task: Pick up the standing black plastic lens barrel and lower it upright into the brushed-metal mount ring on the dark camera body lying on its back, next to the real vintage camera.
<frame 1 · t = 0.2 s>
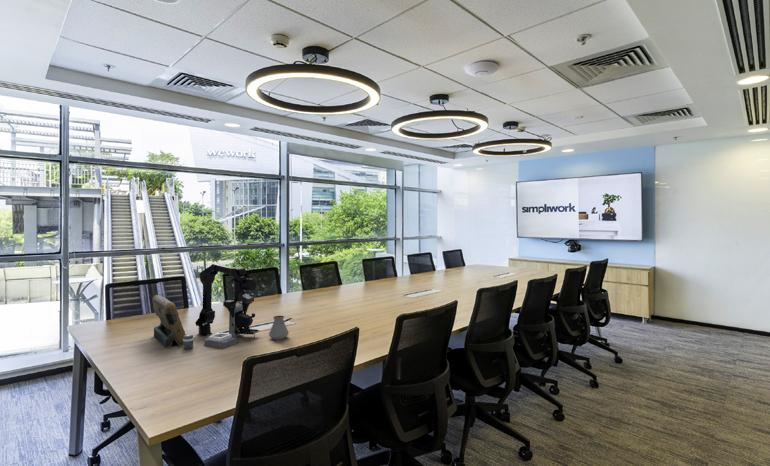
hand: (239, 315, 231), 14 cm above the table, fingers open, 9 cm apart
lens: (188, 348, 216), on the table
camera body: (220, 344, 224), on the table
vintage camera: (244, 337, 238), on the table
coffee pot: (282, 340, 233), on the table
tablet: (169, 340, 232), on the table
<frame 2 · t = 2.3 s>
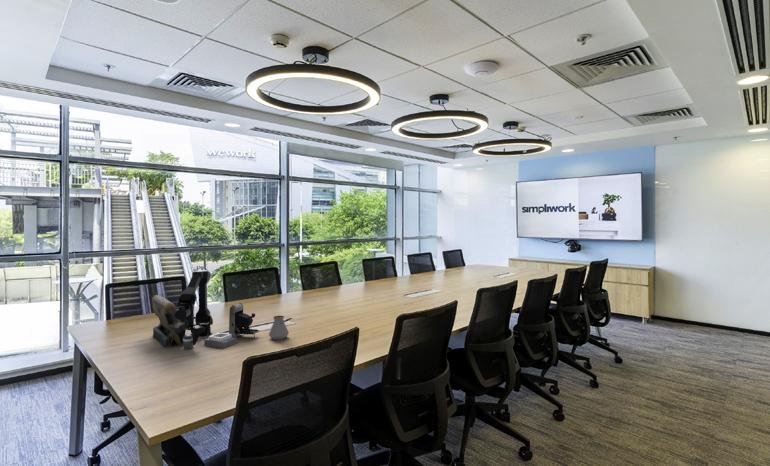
hand: (188, 343, 216), 3 cm above the table, fingers open, 9 cm apart
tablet: (169, 340, 231), on the table, touching gripper
everything else where it was.
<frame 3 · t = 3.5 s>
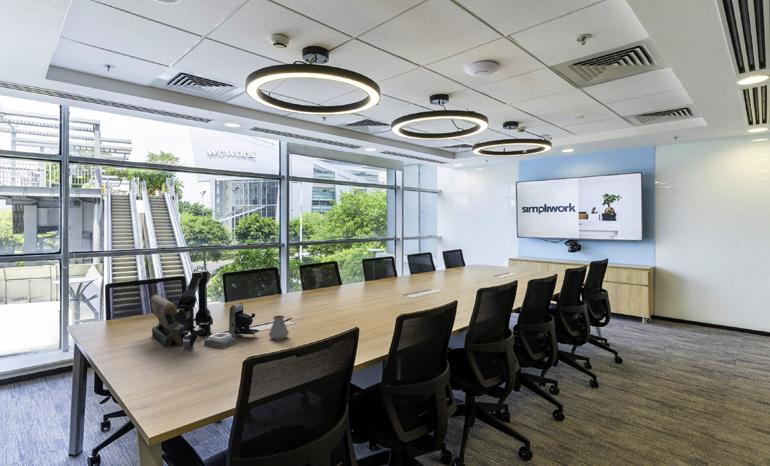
hand: (188, 346, 216), 1 cm above the table, fingers closed on lens, 5 cm apart
lens: (188, 348, 216), on the table, touching gripper
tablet: (168, 340, 231), on the table
everything else where it was.
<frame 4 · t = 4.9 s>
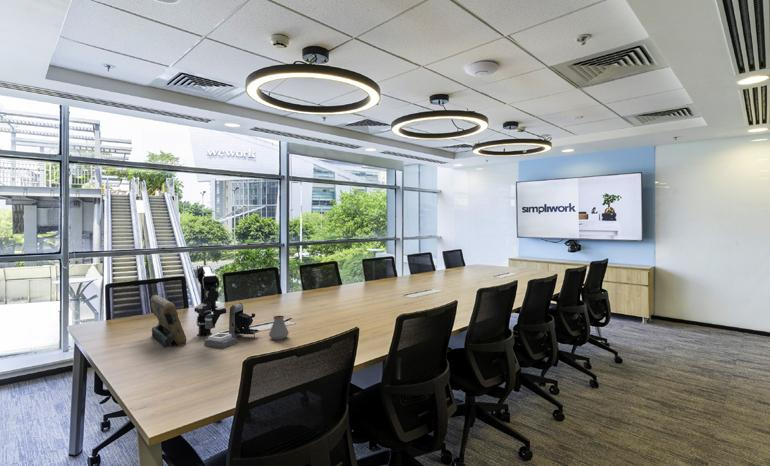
hand: (210, 325, 221), 11 cm above the table, fingers closed on lens, 5 cm apart
lens: (210, 327, 221), point 10 cm above the table, touching gripper
everything else where it was.
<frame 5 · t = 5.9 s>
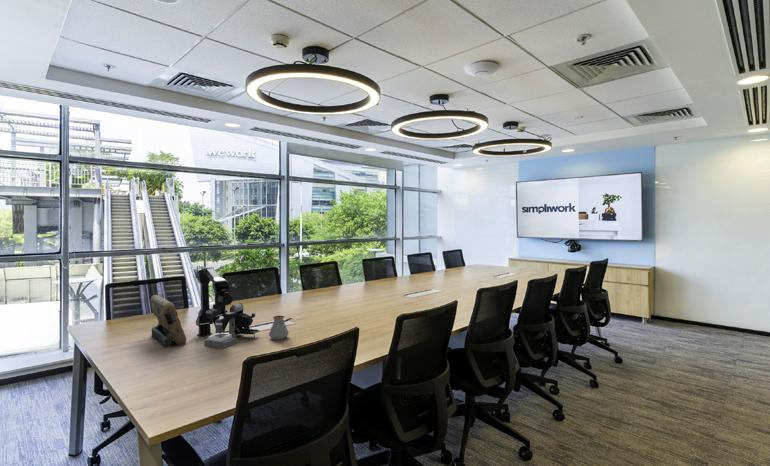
hand: (220, 329, 224), 8 cm above the table, fingers closed on lens, 5 cm apart
lens: (220, 331, 224), point 7 cm above the table, touching gripper
everything else where it was.
when the fingers open (6 cm above the table, at t = 6.7 s): lens drops 1 cm, resting on camera body.
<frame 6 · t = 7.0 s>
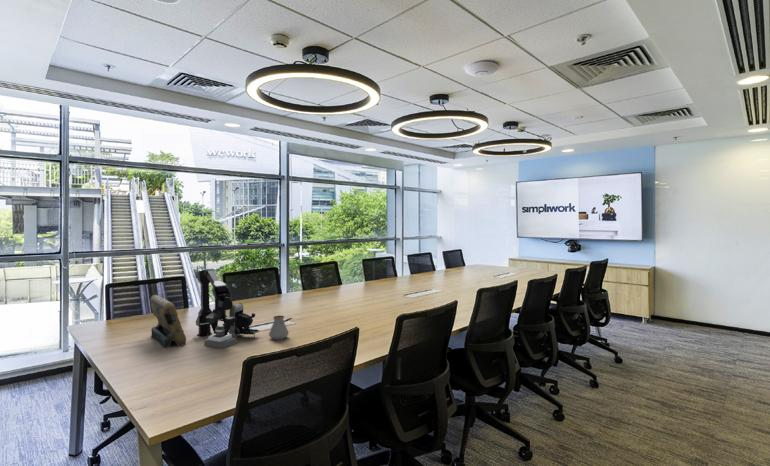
hand: (220, 334, 224), 6 cm above the table, fingers open, 8 cm apart
lens: (220, 338, 224), point 3 cm above the table, touching camera body
everything else where it was.
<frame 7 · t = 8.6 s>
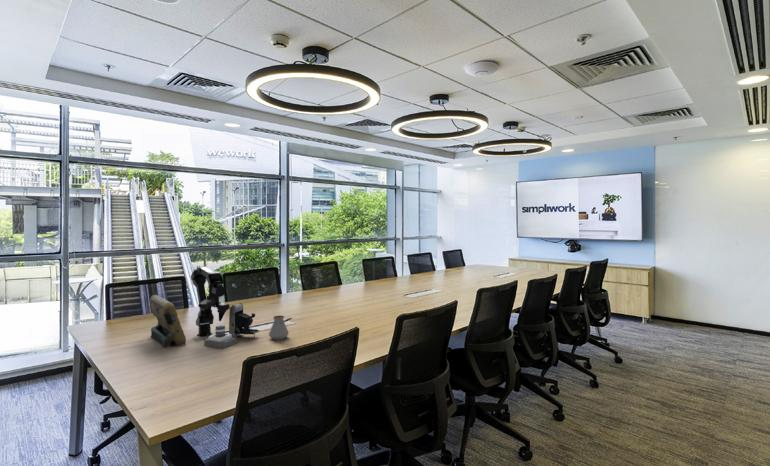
hand: (214, 320, 231), 12 cm above the table, fingers open, 9 cm apart
nothing on the table moved.
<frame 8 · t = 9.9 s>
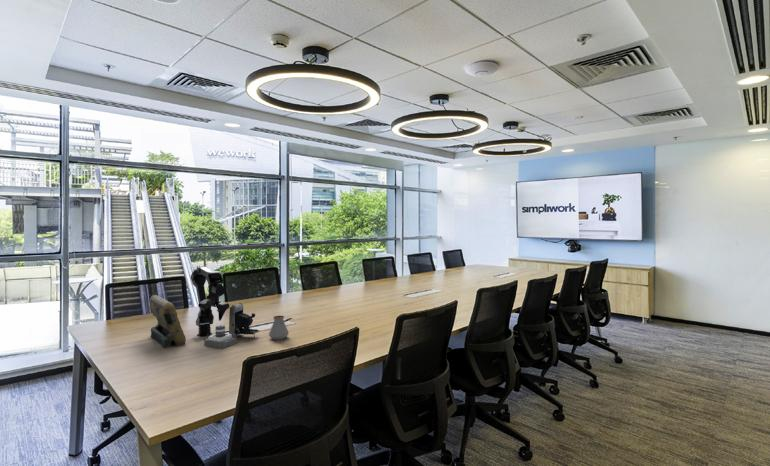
hand: (213, 319, 231), 12 cm above the table, fingers open, 9 cm apart
nothing on the table moved.
at the end: lens 0.0 cm off-centre on the camera body, point 3.0 cm above the camera body's base; lens tilted 0°; the gripper is holding nothing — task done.
